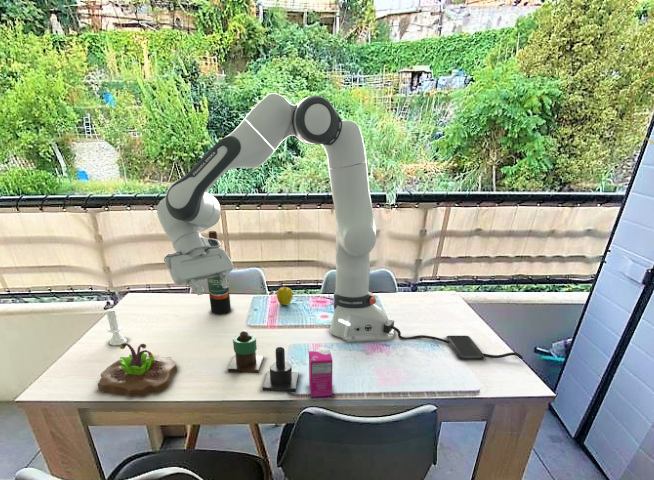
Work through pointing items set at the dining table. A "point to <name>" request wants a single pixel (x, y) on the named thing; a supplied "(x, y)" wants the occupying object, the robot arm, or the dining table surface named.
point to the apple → (284, 295)
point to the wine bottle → (218, 291)
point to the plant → (137, 374)
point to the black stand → (280, 375)
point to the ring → (244, 345)
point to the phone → (464, 352)
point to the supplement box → (320, 373)
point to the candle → (114, 328)
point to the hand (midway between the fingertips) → (214, 290)
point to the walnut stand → (246, 360)
